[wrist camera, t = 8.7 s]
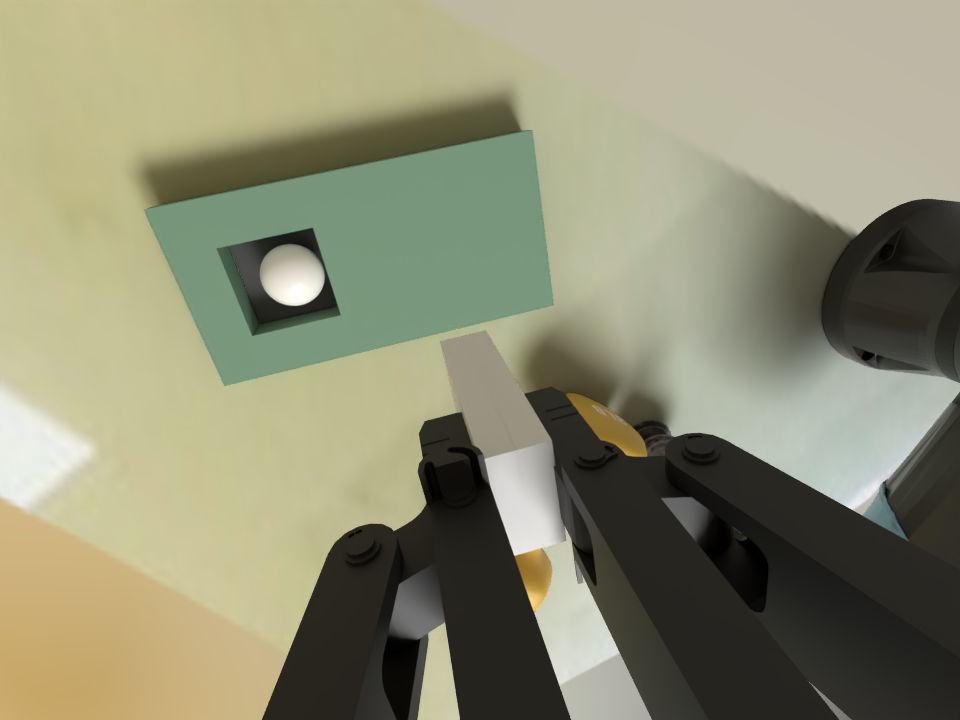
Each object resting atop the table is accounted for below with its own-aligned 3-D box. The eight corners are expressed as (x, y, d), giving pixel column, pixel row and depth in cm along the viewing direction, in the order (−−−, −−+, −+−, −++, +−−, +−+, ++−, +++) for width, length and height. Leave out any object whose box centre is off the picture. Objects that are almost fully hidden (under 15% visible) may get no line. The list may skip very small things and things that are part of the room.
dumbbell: (551, 372, 42) (589, 420, 35) (628, 411, 46) (678, 462, 38) (442, 536, 47) (455, 609, 40) (520, 561, 50) (545, 633, 43)
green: (521, 130, 34) (532, 130, 32) (543, 295, 39) (553, 305, 37) (159, 204, 32) (143, 209, 29) (233, 371, 37) (224, 386, 35)
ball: (305, 233, 34) (319, 240, 31) (324, 288, 36) (339, 299, 33) (246, 250, 33) (254, 259, 30) (269, 306, 35) (278, 321, 31)
